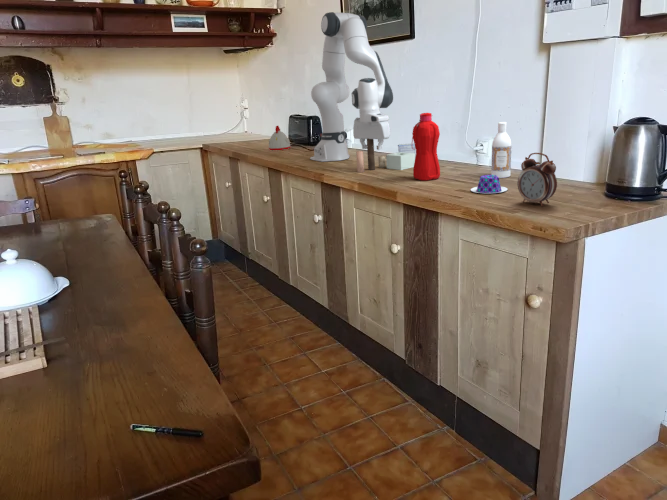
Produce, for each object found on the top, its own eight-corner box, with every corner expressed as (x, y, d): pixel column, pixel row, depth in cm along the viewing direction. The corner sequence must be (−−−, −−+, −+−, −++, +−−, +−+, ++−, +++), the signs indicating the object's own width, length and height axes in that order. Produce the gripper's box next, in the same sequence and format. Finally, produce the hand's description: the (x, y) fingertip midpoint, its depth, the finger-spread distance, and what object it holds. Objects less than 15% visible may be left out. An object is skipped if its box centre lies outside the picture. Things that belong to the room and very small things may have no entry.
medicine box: (415, 161, 244) (415, 143, 241) (416, 163, 240) (415, 144, 237) (398, 162, 245) (398, 144, 242) (398, 164, 240) (398, 145, 238)
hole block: (386, 168, 232) (386, 154, 230) (400, 165, 237) (400, 152, 235) (401, 169, 225) (400, 156, 223) (415, 166, 230) (414, 153, 228)
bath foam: (491, 178, 193) (492, 123, 187) (491, 174, 199) (492, 122, 193) (510, 178, 191) (512, 122, 185) (510, 174, 197) (512, 121, 191)
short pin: (377, 167, 236) (376, 156, 234) (382, 166, 237) (381, 155, 236) (382, 168, 233) (381, 157, 232) (386, 167, 235) (386, 156, 233)
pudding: (488, 197, 166) (488, 181, 164) (463, 191, 176) (463, 176, 175) (515, 191, 171) (516, 175, 170) (489, 186, 181) (489, 171, 180)
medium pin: (356, 172, 228) (354, 151, 225) (361, 171, 230) (360, 150, 227) (360, 172, 226) (359, 152, 223) (365, 171, 227) (364, 151, 225)
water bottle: (406, 179, 204) (404, 114, 196) (430, 175, 207) (429, 111, 200) (419, 182, 195) (417, 114, 188) (443, 178, 199) (443, 112, 192)
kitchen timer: (266, 151, 327) (263, 127, 322) (272, 148, 340) (269, 125, 335) (287, 150, 324) (285, 126, 320) (292, 147, 337) (290, 124, 333)
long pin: (366, 169, 232) (365, 138, 227) (371, 168, 233) (370, 137, 229) (371, 170, 229) (369, 138, 225) (376, 169, 231) (374, 137, 227)
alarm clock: (515, 202, 156) (517, 152, 151) (525, 199, 158) (527, 150, 153) (547, 208, 147) (550, 155, 142) (557, 205, 149) (561, 152, 145)
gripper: (348, 118, 230) (351, 149, 235) (380, 117, 215) (382, 151, 219) (359, 116, 234) (361, 147, 238) (391, 116, 219) (393, 149, 223)
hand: (371, 149), depth 229 cm, fingers open, 8 cm apart
